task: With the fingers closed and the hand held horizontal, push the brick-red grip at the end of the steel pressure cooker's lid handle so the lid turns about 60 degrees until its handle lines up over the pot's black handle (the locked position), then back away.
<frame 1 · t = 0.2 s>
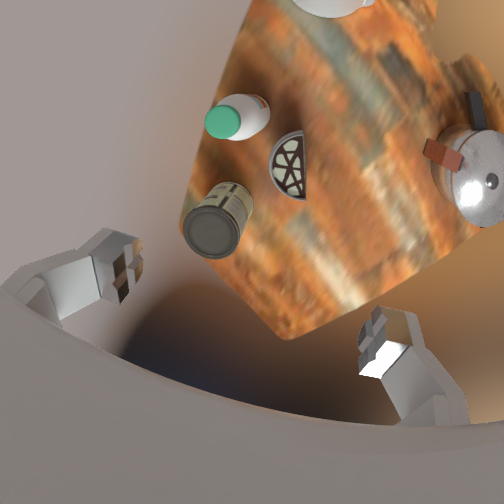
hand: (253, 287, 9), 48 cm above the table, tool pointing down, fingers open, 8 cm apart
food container: (289, 156, 53), on the table
cooker pot: (464, 164, 44), on the table
milk bottle: (250, 113, 49), on the table
lid: (488, 179, 32), point 14 cm above the table, hinge at 60.0°
coffee can: (230, 203, 60), on the table
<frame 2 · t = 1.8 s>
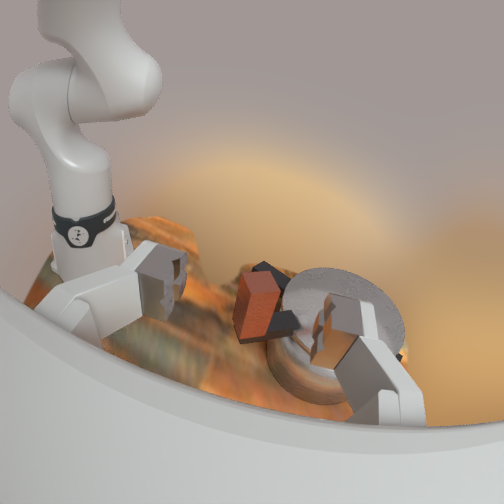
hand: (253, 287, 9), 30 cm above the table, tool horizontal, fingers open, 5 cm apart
cooker pot: (320, 356, 43), on the table
lid: (337, 298, 34), point 14 cm above the table, hinge at 60.0°
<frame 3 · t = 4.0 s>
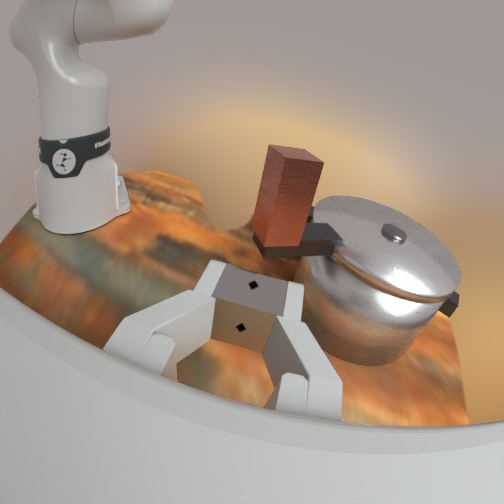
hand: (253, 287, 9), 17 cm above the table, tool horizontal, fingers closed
cooker pot: (355, 308, 34), on the table
lid: (383, 210, 25), point 14 cm above the table, hinge at 60.0°
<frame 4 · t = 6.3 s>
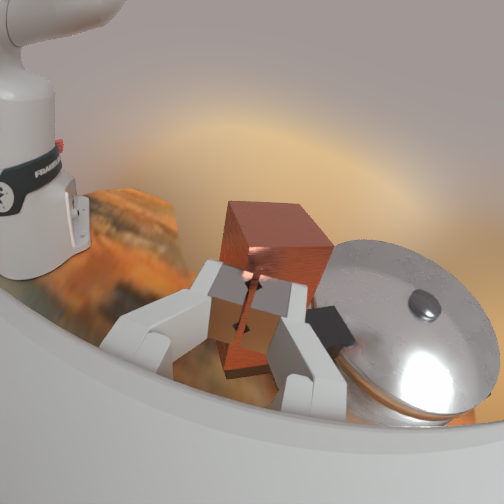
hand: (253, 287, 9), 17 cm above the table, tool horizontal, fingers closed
cooker pot: (362, 382, 25), on the table
lid: (417, 283, 16), point 14 cm above the table, hinge at 57.9°, touching gripper
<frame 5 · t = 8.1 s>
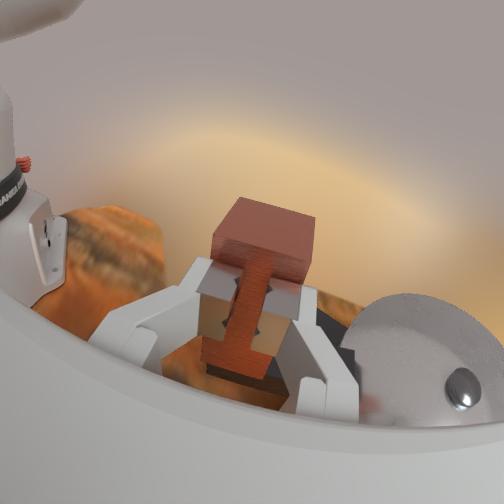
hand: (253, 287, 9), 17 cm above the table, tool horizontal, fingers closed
cooker pot: (376, 449, 19), on the table
lid: (456, 357, 11), point 14 cm above the table, hinge at 28.4°, touching gripper
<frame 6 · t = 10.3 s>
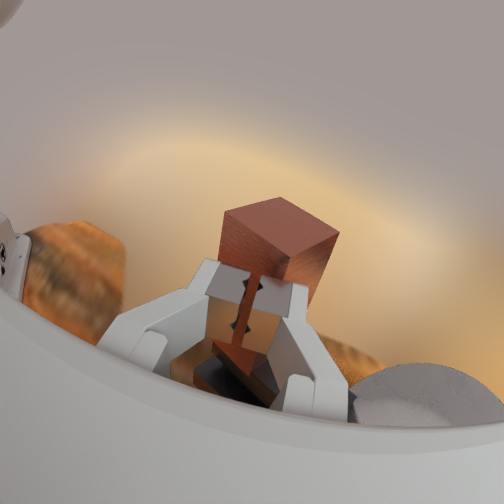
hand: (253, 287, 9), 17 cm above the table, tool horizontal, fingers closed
lid: (452, 453, 7), point 14 cm above the table, hinge at -3.7°, touching gripper
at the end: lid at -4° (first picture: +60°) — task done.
